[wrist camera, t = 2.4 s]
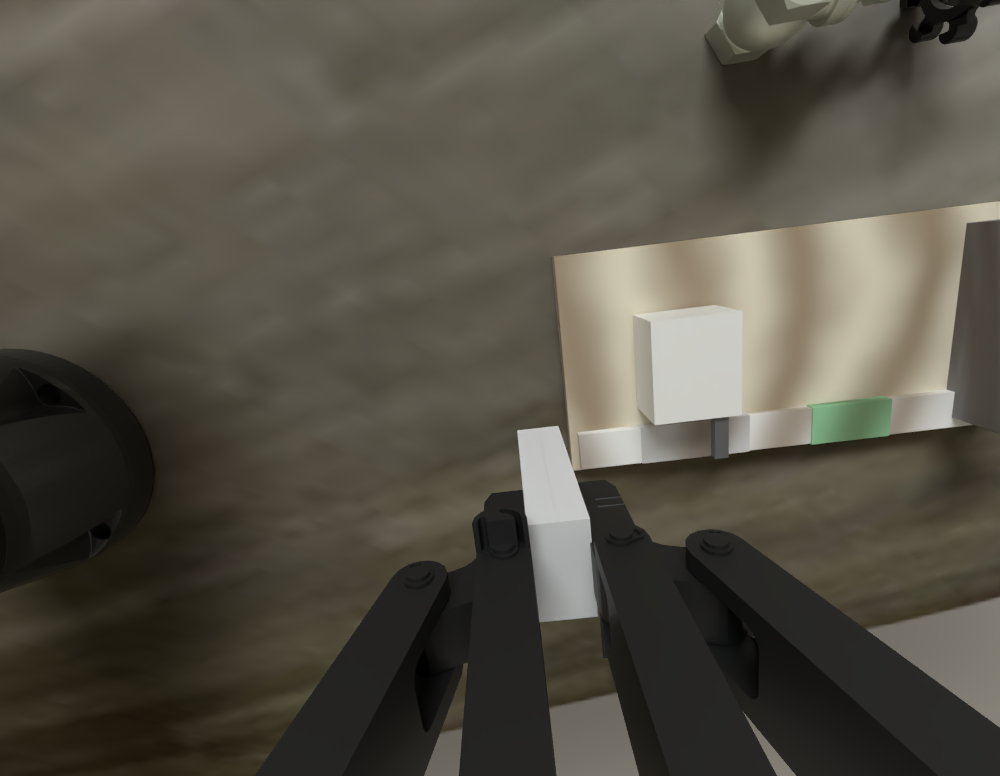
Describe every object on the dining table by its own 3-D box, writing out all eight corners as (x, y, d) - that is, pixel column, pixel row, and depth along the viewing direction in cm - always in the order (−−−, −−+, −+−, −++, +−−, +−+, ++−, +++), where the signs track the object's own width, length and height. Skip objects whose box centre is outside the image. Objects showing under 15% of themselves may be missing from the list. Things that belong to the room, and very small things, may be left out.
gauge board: (570, 463, 34) (589, 516, 27) (551, 257, 30) (568, 256, 23) (977, 416, 33) (1106, 458, 26) (1008, 200, 29) (1167, 181, 23)
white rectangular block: (639, 446, 32) (656, 468, 29) (632, 314, 30) (650, 322, 26) (715, 437, 32) (741, 458, 28) (714, 304, 30) (742, 310, 26)
